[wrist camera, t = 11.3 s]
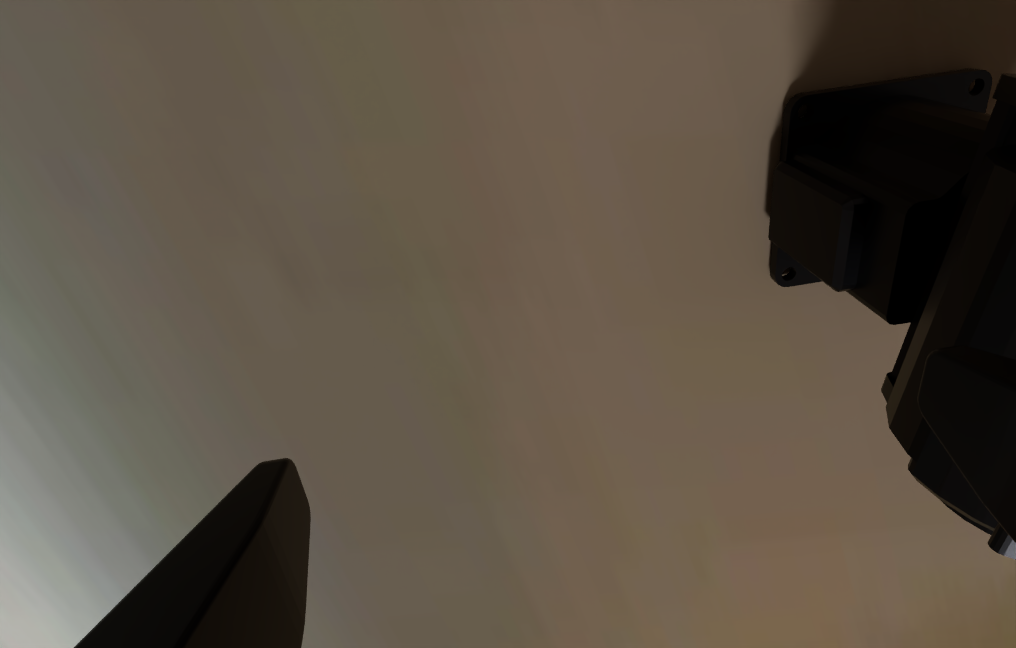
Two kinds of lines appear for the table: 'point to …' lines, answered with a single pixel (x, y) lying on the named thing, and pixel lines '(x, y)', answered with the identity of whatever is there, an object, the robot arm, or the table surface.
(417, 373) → the table surface
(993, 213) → the robot arm
